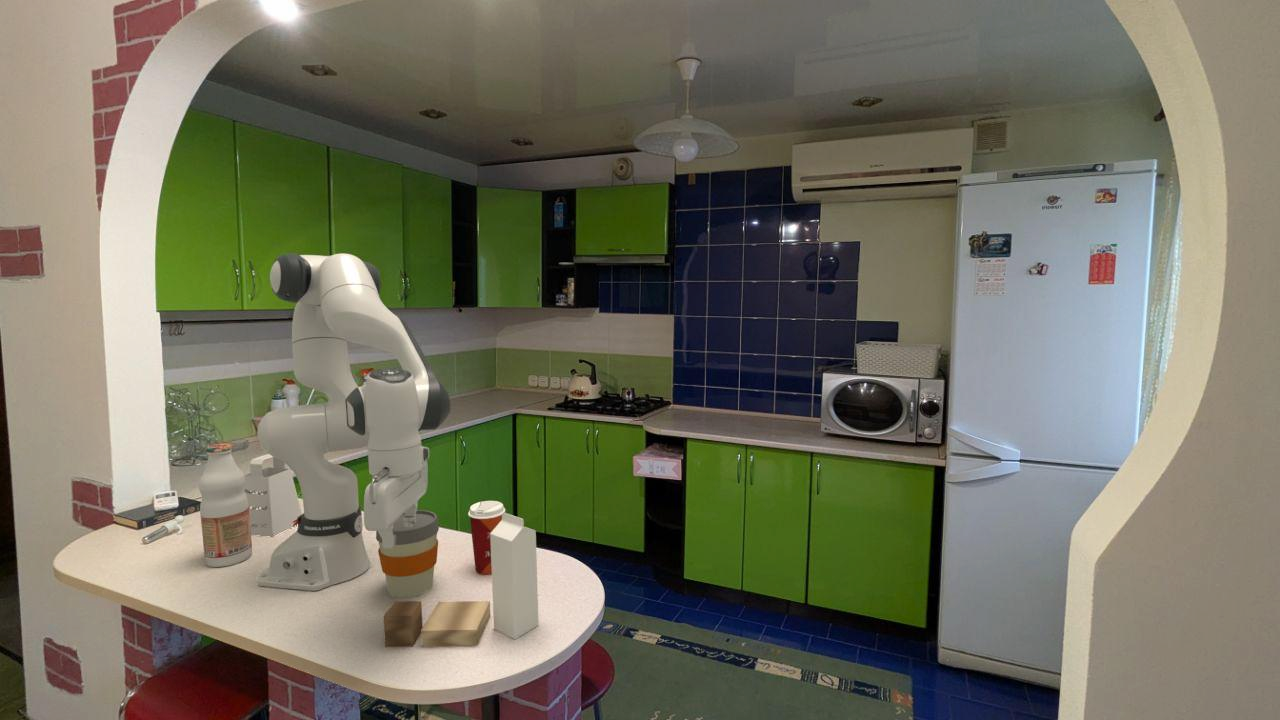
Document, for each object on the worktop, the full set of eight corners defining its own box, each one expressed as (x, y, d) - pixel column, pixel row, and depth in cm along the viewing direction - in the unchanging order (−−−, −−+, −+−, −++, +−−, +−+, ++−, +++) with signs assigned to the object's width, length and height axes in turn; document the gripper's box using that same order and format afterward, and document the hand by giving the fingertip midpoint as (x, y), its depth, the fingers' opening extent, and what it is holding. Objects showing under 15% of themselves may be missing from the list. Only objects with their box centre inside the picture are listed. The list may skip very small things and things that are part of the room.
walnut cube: (385, 647, 106) (383, 615, 106) (396, 631, 111) (394, 601, 111) (413, 647, 106) (411, 615, 106) (422, 631, 111) (421, 601, 111)
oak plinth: (421, 646, 106) (420, 630, 106) (439, 616, 116) (438, 601, 116) (477, 645, 106) (476, 629, 106) (490, 615, 116) (489, 601, 116)
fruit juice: (196, 569, 137) (184, 451, 134) (218, 552, 146) (208, 441, 143) (240, 566, 138) (230, 449, 135) (259, 549, 148) (250, 439, 144)
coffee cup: (498, 578, 131) (495, 513, 130) (463, 575, 133) (461, 511, 131) (513, 562, 139) (511, 500, 138) (481, 559, 141) (478, 498, 139)
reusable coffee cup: (417, 605, 120) (413, 534, 119) (366, 597, 124) (361, 528, 122) (453, 577, 132) (450, 512, 131) (405, 570, 136) (401, 507, 134)
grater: (240, 534, 157) (233, 460, 155) (272, 519, 167) (266, 450, 165) (273, 537, 155) (267, 463, 153) (304, 522, 165) (298, 452, 163)
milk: (517, 615, 116) (514, 507, 114) (539, 625, 113) (536, 513, 110) (493, 629, 112) (489, 516, 109) (514, 640, 108) (511, 523, 106)
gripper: (390, 477, 95) (395, 560, 96) (432, 446, 115) (435, 515, 117) (350, 478, 95) (355, 561, 96) (399, 447, 115) (403, 515, 117)
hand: (400, 535), depth 107 cm, fingers open, 8 cm apart
